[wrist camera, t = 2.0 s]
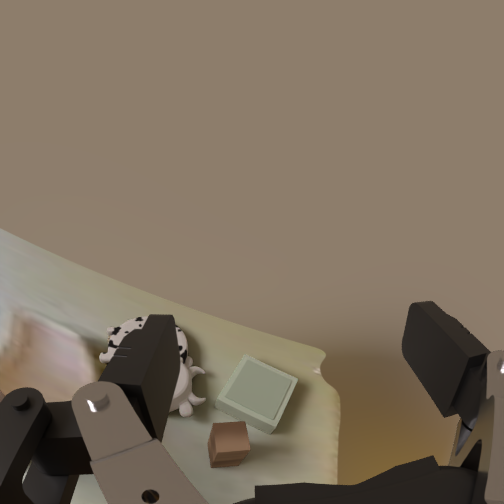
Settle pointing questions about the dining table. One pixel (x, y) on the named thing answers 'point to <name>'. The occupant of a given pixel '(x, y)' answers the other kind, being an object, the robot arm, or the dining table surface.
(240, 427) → the block
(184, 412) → the toy
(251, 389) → the stand
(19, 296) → the dining table surface
